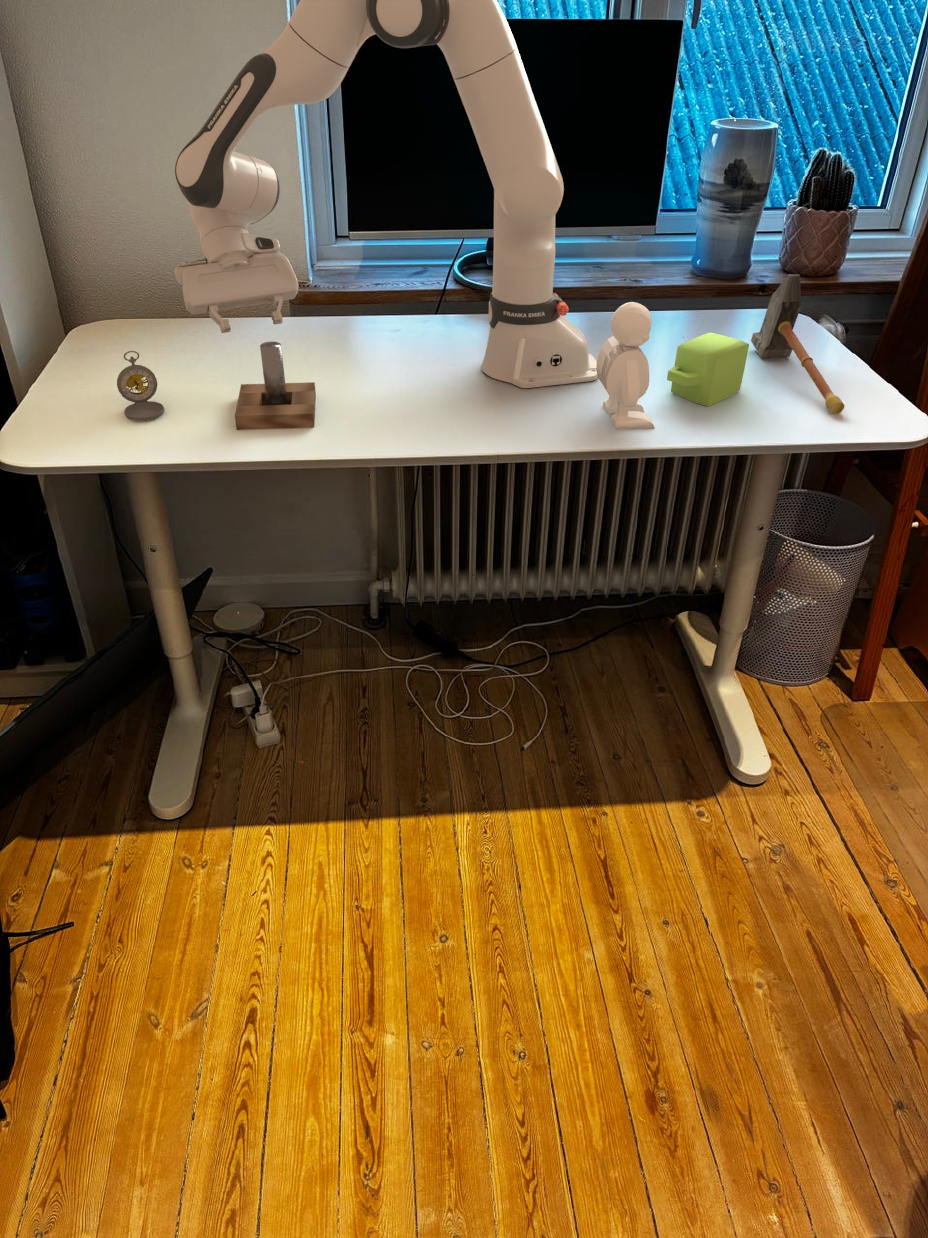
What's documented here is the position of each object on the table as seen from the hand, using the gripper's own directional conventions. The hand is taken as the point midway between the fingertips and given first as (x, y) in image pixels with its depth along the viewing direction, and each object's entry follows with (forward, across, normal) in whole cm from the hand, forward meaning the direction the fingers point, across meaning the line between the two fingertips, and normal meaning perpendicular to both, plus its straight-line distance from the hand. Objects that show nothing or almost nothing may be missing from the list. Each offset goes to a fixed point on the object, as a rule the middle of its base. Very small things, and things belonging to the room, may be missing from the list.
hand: (252, 326), depth 169 cm
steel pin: (+16, 0, -1) cm, 16 cm away
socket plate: (+16, 0, -1) cm, 16 cm away
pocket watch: (+10, -22, +6) cm, 24 cm away
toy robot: (+36, +54, -18) cm, 67 cm away
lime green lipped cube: (+34, +74, -16) cm, 83 cm away
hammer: (+36, +94, -18) cm, 102 cm away
